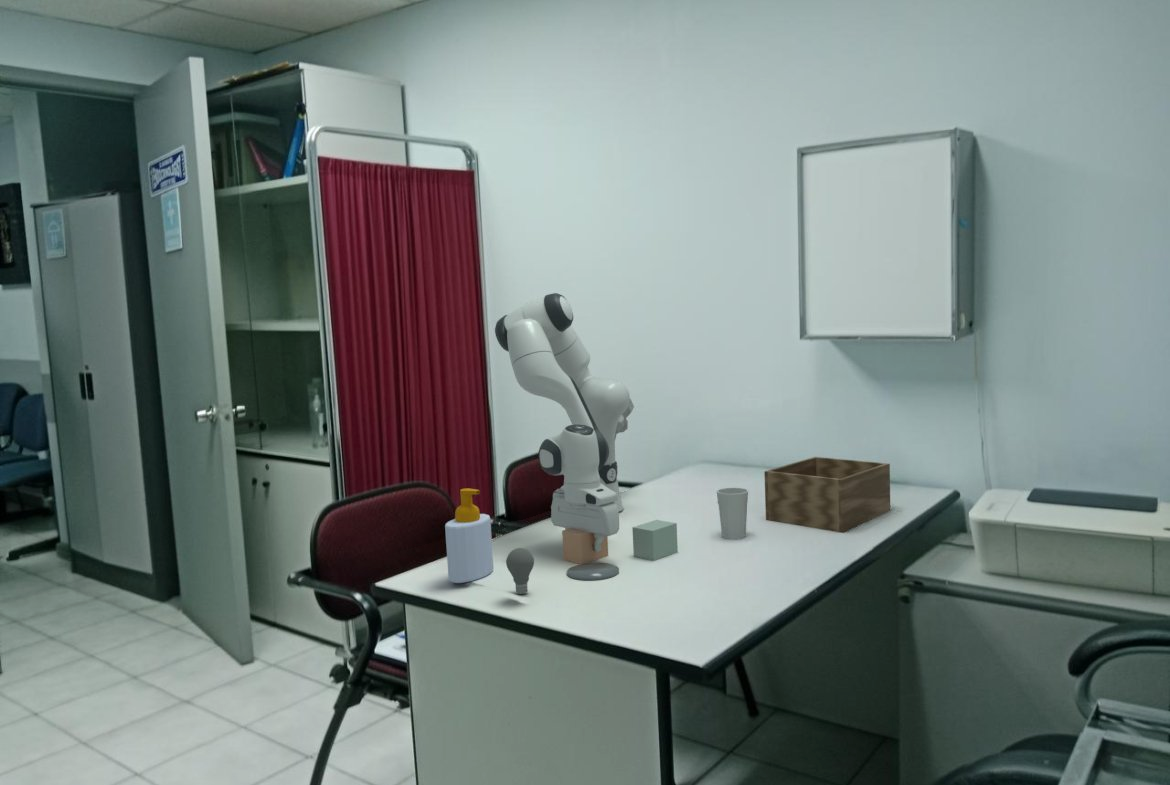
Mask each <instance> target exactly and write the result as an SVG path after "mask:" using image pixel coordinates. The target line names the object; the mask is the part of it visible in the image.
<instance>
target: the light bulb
mask: <svg viewBox="0 0 1170 785" xmlns="http://www.w3.org/2000/svg"><path fill="white" fill-rule="evenodd" d="M505 563H506V567H507V570H508V572H509V574H511V576H512V579H513V582H514V584H515V593H516V594H519V595H525V594H526V593H527V592H529V587H528V582H529V581H530V580H529V579H530V575H531V572H532V570H533V568H534V565H535V558H534V556H533V554H532V552H531V551H530V550H528V549H527V548H523V547H516V548H514V549H512V550H511V551H510V552H509V553H508V555H507V557H506V559H505Z"/></svg>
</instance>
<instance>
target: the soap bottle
mask: <svg viewBox="0 0 1170 785" xmlns="http://www.w3.org/2000/svg"><path fill="white" fill-rule="evenodd" d="M459 491H460V492H459V493H460V505H459V506H457V507H456V509H455V512H454V519H451V520H449V521H447V522H446V523H445V525H444V529H445V544H446V546H445V547H446V557H447V558H446V560H447V563H446V564H447V575H448V577H447V578H448V581H449V582H451V583H454V584H462V583H463V584H464V583H469V582H472V581H477V580H480V579H482V578H485V577H487V576H489V575H490V574H492V572H493V571H494V556H493V541H492V522H491V520H492V519H491V517H490V515H489V514H486V513H480V511H481V510H480V508H479V506H477V505H475V504H474V503H473V495H479V494H480V492H481V491H480V489H475V488H468V487H467V488H462V489H460V490H459Z"/></svg>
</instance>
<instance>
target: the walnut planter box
mask: <svg viewBox="0 0 1170 785" xmlns="http://www.w3.org/2000/svg"><path fill="white" fill-rule="evenodd" d="M890 466H891V463H887V462H874V461H867V460H866V461H863V460H853V459H843V458H833V457H832V458H831V457H823V456H821V457H820V456H813V457H809V458H806V459H803V460H800V461H796V462H795V461H794V462H793V463H788V464H786V465H782V466H779V467H776V468H772V469H768V470H765V471H764V472H763V473H764V501H765V502H764V504H765V507H764V508H765V521H767V522H768V521H769V522H775V523H781V524H787V525H793V526H799V527H806V528H812V529H818V530H823V531H829V532H835V533H840V534H841V533H842V534H844V533H846V532H848V531H851V530H852V529H854V528H856V527H859V526H860V525H863V524H865V523H867V522H869V521H871V520H874V519H875V518H878V517H880V516H881V515H884V514H886V513H888V512H891V473H890V472H891V468H890Z"/></svg>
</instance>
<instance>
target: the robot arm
mask: <svg viewBox="0 0 1170 785" xmlns="http://www.w3.org/2000/svg"><path fill="white" fill-rule="evenodd" d="M573 321H574V313H573V309H572V306H571V304H570V302H569V301H568V300H567V299H566V297H565V296H564V295H563V294H560V293H557V292H556V293H555V292H554V293H549V294H546V295H544V297H540V298H538V299H534V300H531V301H529V302H527V303H525V304H524V305H523V306H520V307H518V308H516V309H515V310H514V311H512V312H510V313H508V314H505V315H503V316H502V317H501V318H499V319H497V322H496V323H495V328H494V333H495V337H496V340H497V342H498V344H499V346H500V347H501V348H502V349H503V350H504V351H506V352H508V355H509V358H510V363H511V367H512V370H513V374H514V377H515V379H516V381H517V383H518V385H519V386H520V387H521V388H522V389H523V390H524V391H526V393H529V394H531V395H535V396H538V397H542V398H546V399H548V400H551V401H554V402H556V403H558V404H560V406H561V407H562V408H563V409H564V410H565V412H566V414H567V416H568V418H569V420H570V422H571V424H570V425H567V426H565V427H564V428H563V430H562V432H559V433H558V434H557V435H553V436H552V437H549V438H546V439H544V440H543V441H542V443H541V445H540V447H539V449H538V454H537V456H538V462H539V466H540V467H541V469H542V470H543V471H544V472H545V473H546V474H548V475H549V476H562V475H563V476H564V477H563V478H564V479H563V485H562V486H561V487H560V488H557V489H556V490H554V491H553V492H552V501H551V505H550V509H551V512H550V514H551V515H550V518H551V523H552V525H553V527H559V528H564V530H567V529H576V530H581V531H586V532H590V533H594V537H595V538H596V540H595V543H593V544H592V550H593V551H597V552H598V551H601V543H602V541H603V539H604V537H605V536H607V537H611V536H613V535H614V536H615V535H616V534H617V533H618V532H619V530H620V514H619V512H621V511H623V510H624V507H623V506H624V505H623V501H622V499H621V495H620V488H619V487H620V486H619V482H618V478H617V477H618V463H617V461H616V449H615V448H616V439H615V432H616V427H617V424H618V421H619V418H620V417H621V415H622V414H623V413H624V412H625V411H626V409H627V408H628V405H629V401H630V399H631V397H630V392H629V389H628V388H627V386H626V385H625V384H623V383H622V382H619V381H616V380H613V379H610V378H599V377H598V378H597V377H595V376H593V375H592V374H591V372H590V369H589V365H590V362H591V355H590V354H589V351H588V349H587V348H586V346H585V344H583V342H582V340H581V339H580V337H579V335H578V334H577V332H576V331H575V329H574V328H573V326H572V324H573Z"/></svg>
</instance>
